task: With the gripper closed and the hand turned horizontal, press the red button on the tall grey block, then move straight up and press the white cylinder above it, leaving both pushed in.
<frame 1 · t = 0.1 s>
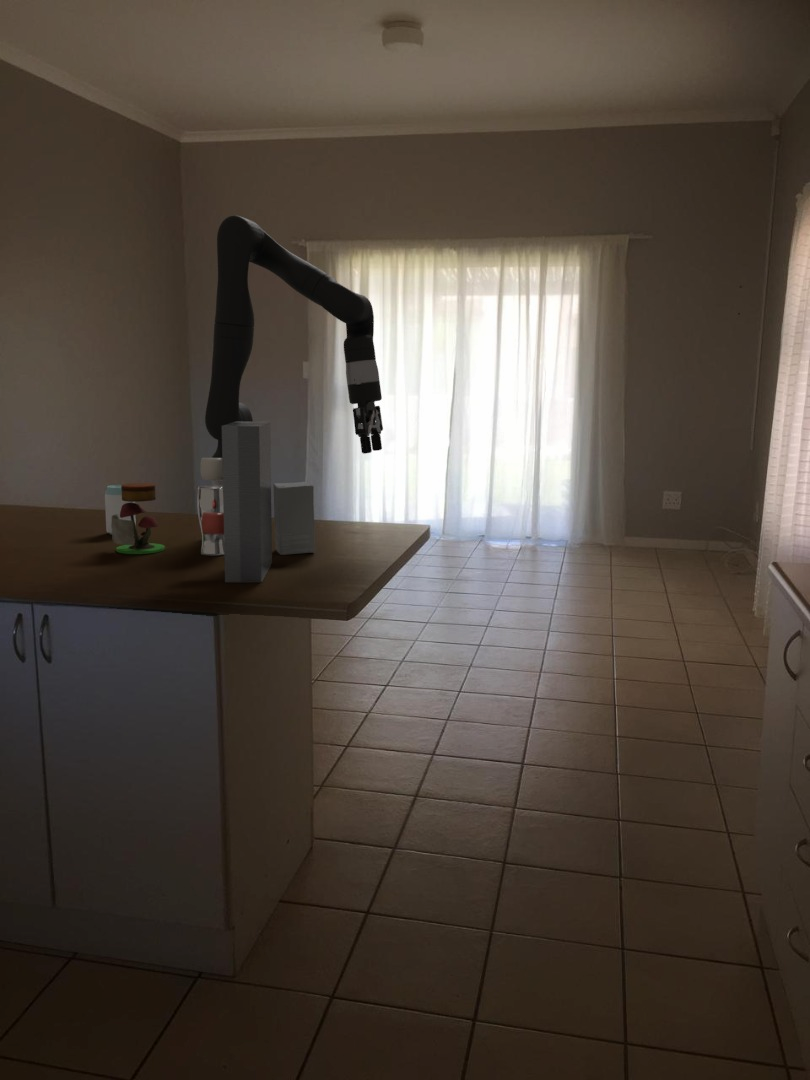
hand: (372, 451, 207), 22 cm above the table, tool pointing down, fingers open, 8 cm apart
red button: (216, 523, 178), point 10 cm above the table, slide at 0.0 cm
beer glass: (214, 554, 199), on the table
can: (121, 534, 222), on the table
tall grey block: (232, 572, 180), on the table
skincare box: (294, 553, 202), on the table
mushroom figurine: (139, 550, 202), on the table
white cylinder: (215, 468, 176), point 21 cm above the table, slide at 0.0 cm
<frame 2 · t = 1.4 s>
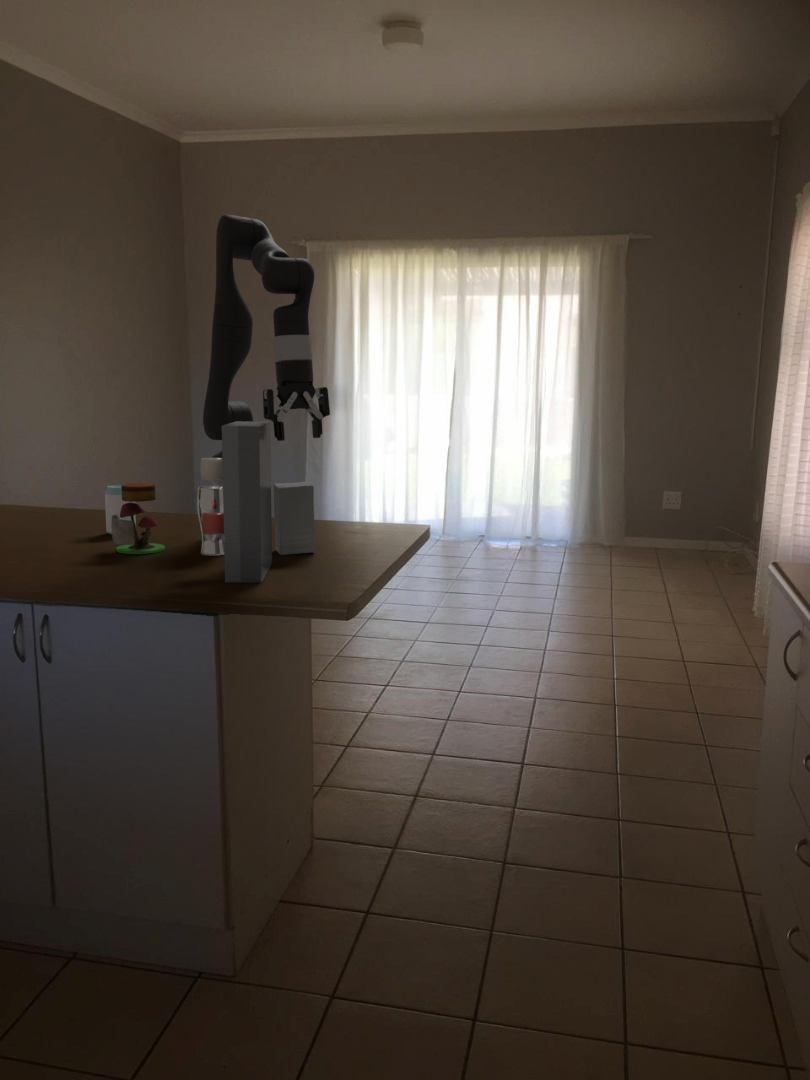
hand: (299, 439, 183), 27 cm above the table, tool pointing down, fingers open, 8 cm apart
nothing on the table moved.
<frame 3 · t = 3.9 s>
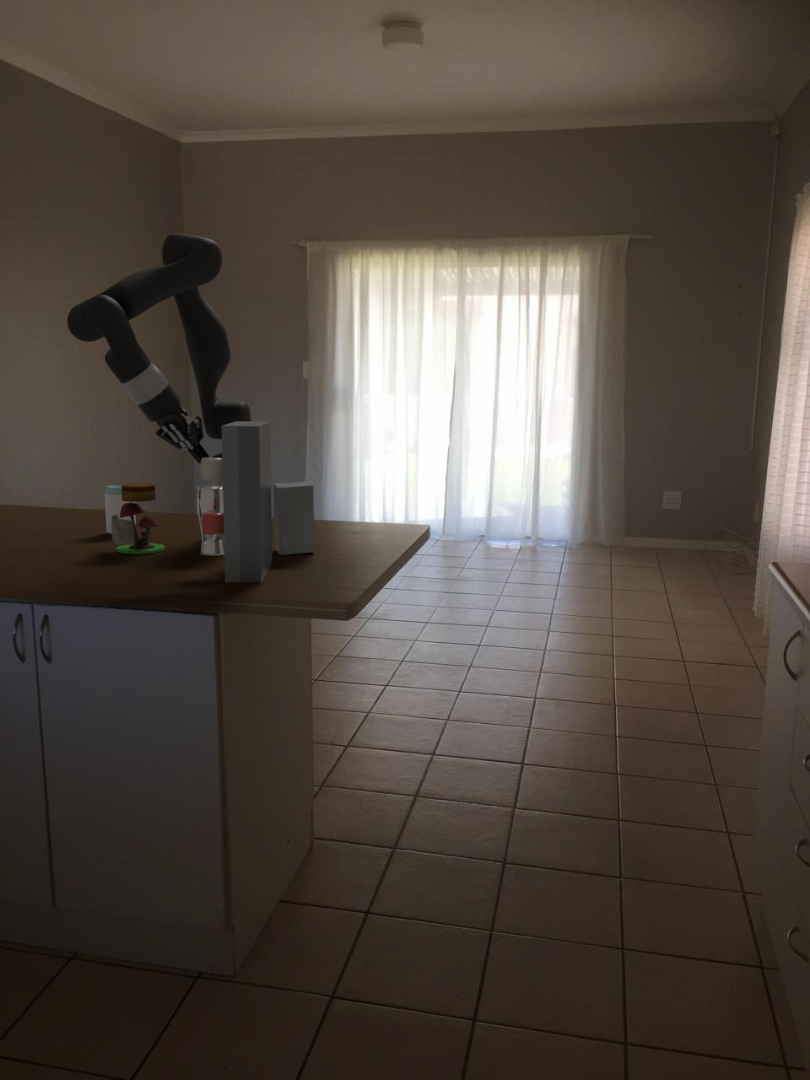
hand: (204, 460, 179), 22 cm above the table, tool tilted 35°, fingers closed
white cylinder: (215, 468, 176), point 21 cm above the table, slide at 0.1 cm, touching gripper
everything else where it was.
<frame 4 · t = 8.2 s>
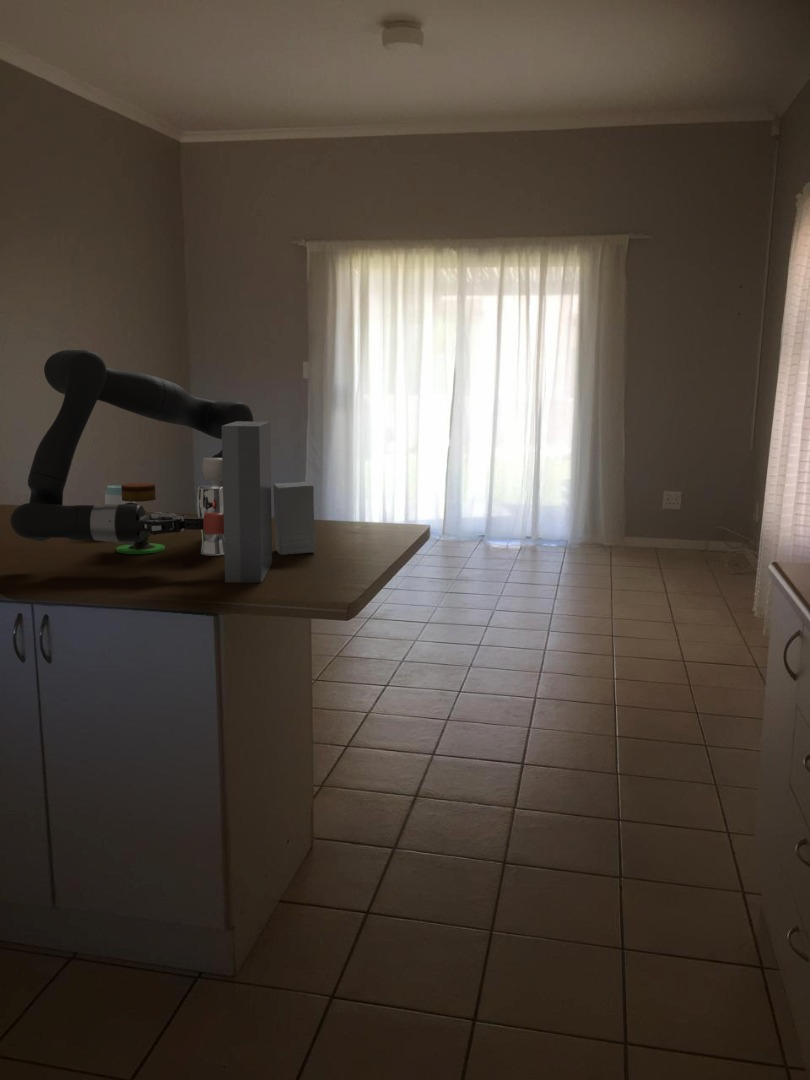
hand: (205, 523, 178), 10 cm above the table, tool horizontal, fingers closed
red button: (217, 523, 178), point 10 cm above the table, slide at 0.3 cm, touching gripper
white cylinder: (217, 468, 176), point 21 cm above the table, slide at 0.4 cm
everything else where it was.
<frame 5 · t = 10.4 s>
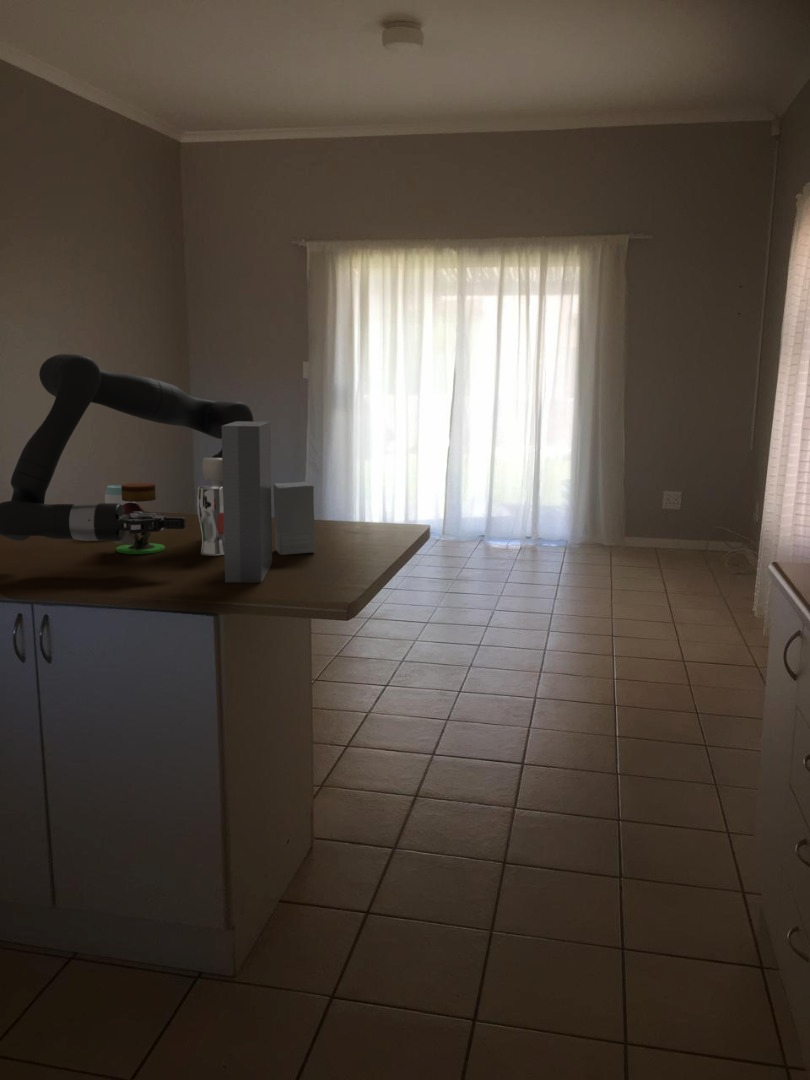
hand: (185, 523, 178), 10 cm above the table, tool horizontal, fingers closed
red button: (231, 523, 178), point 10 cm above the table, slide at 3.0 cm
everything else where it was.
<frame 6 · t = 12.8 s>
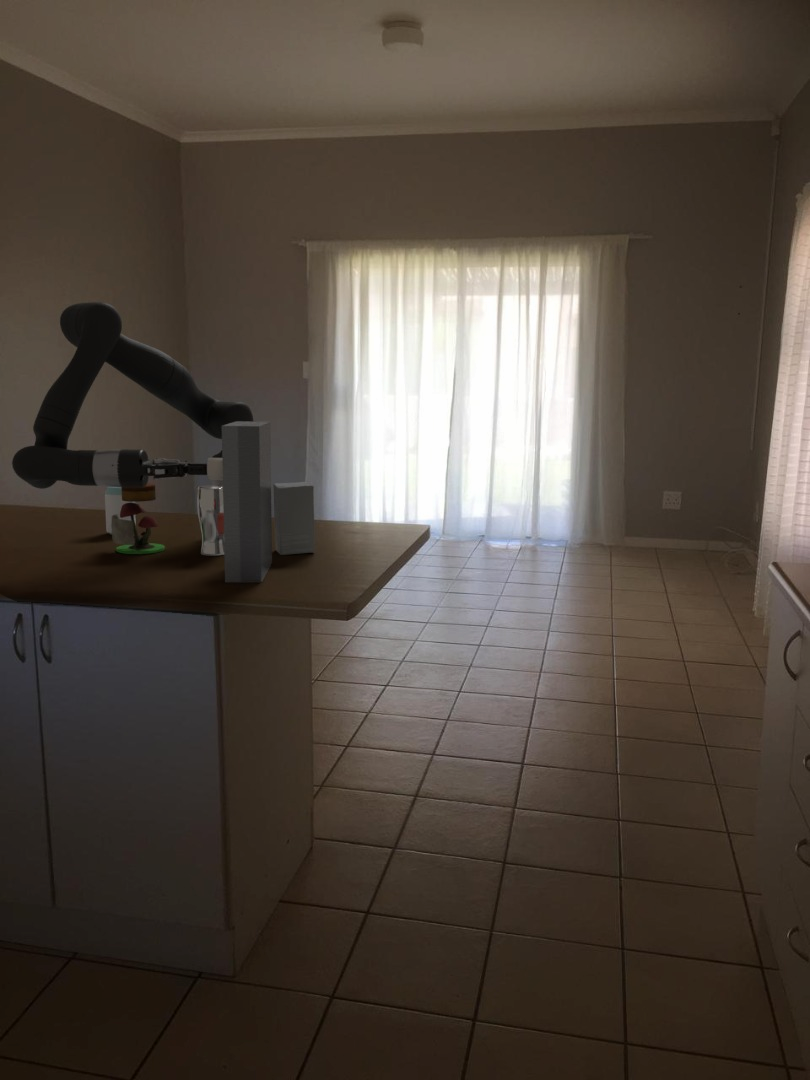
hand: (209, 469, 176), 21 cm above the table, tool horizontal, fingers closed
white cylinder: (221, 469, 176), point 21 cm above the table, slide at 1.3 cm, touching gripper
everything else where it was.
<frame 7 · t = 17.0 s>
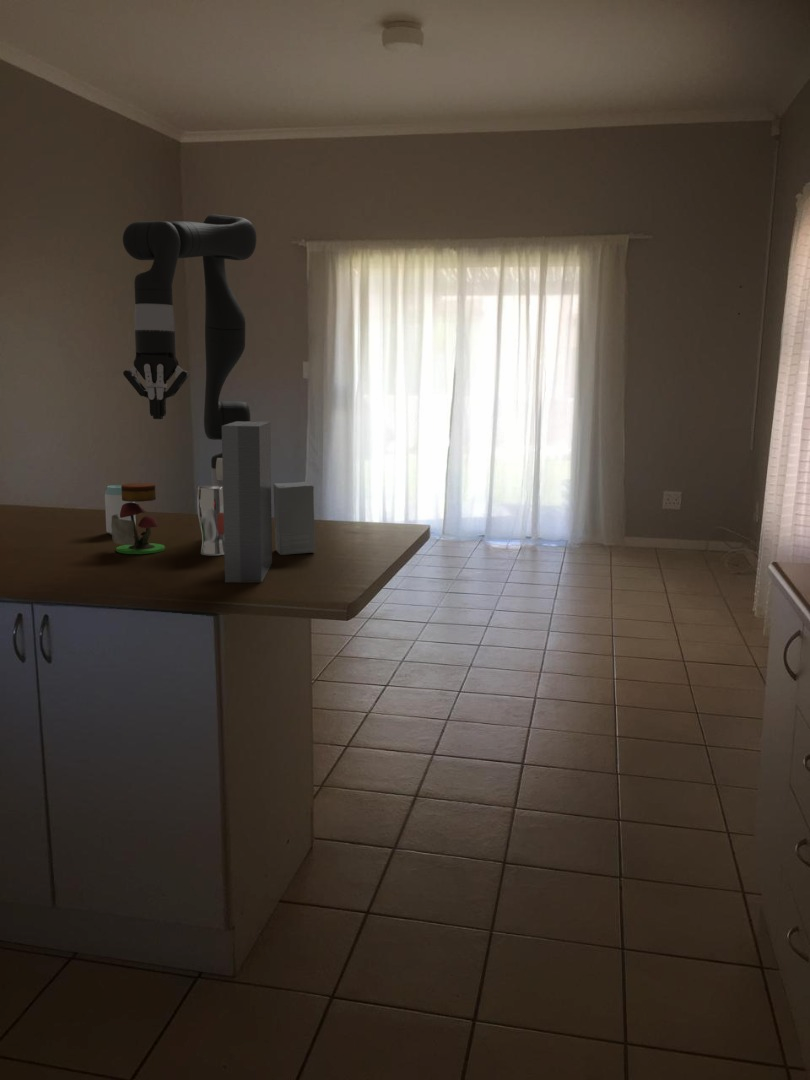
hand: (158, 418, 175), 31 cm above the table, tool pointing down, fingers closed
white cylinder: (230, 469, 176), point 21 cm above the table, slide at 3.0 cm
everything else where it was.
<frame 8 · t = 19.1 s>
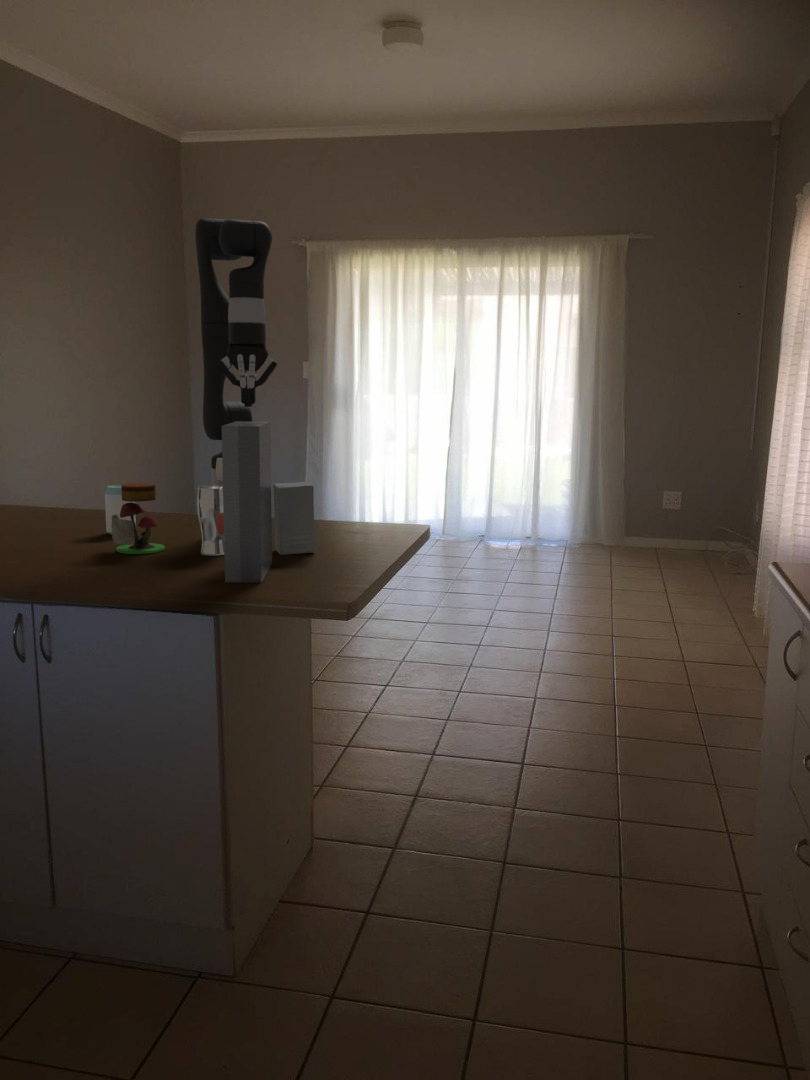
hand: (248, 406, 186), 33 cm above the table, tool pointing down, fingers closed
nothing on the table moved.
at the end: red button slide at 3.0 cm; white cylinder slide at 3.0 cm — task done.
